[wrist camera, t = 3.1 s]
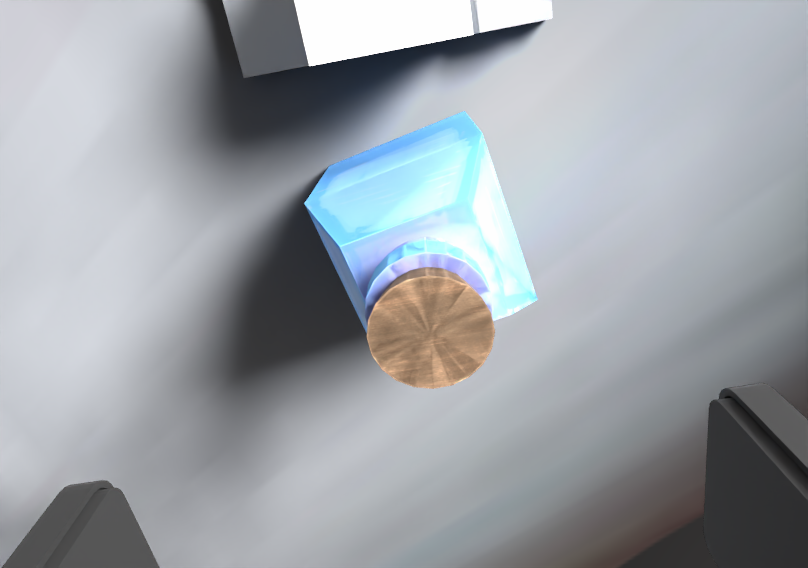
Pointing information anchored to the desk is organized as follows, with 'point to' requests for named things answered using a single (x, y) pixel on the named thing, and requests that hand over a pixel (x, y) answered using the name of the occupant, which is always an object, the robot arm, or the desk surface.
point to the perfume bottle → (424, 250)
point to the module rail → (284, 34)
